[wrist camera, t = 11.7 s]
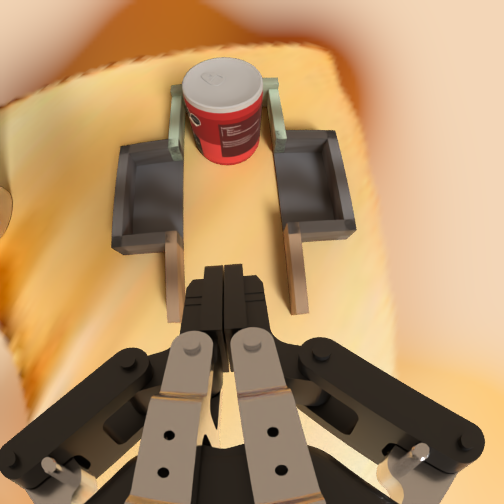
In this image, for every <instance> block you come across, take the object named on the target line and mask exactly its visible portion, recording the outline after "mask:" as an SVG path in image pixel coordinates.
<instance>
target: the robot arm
mask: <svg viewBox="0 0 504 504" xmlns="http://www.w3.org/2000/svg"><path fill="white" fill-rule="evenodd" d="M11 212H12V199H11V196H10V193H9V192H8V191H7V190H5V189H4V188H2V187H1V186H0V238H1V237H2V235H3V233H4V232H5V230H6V228H7V226H8V223H9V221H10V217H11ZM229 363H230V369H231V372H234V375H235V382H236V389H237V397H238V404H239V411H240V417H241V424H242V430H243V437H244V443H245V444H242V445H238V446H234V447H231V448H227V449H221V443H220V421H221V408H222V394H223V388H222V385H223V372H229ZM297 408H298V409H299V410H301V411H302V412H303V413H305V414H306V415H307V416H309V417H310V418H311V419H313V420H314V421H315V422H317V423H318V424H319V425H321V426H322V427H323V428H325V429H326V430H328V431H329V432H330V433H332V434H333V435H335V436H336V437H337V438H339V439H340V440H342V441H343V442H345V443H346V444H347V445H349V446H350V447H352V448H353V449H355V450H356V451H358V452H359V453H361V454H362V455H364V456H365V457H367V458H368V459H370V460H371V461H373V462H374V463H376V464H377V465H378V467H377V473H376V474H377V479H378V481H379V483H380V484H381V485H382V486H383V487H384V488H385V489H386V490H387V491H388V493H389V495H390V497H388V496H386V495H385V494H383V493H382V492H381V491H379V490H378V489H376V488H375V487H373V486H372V485H370V484H369V483H368V482H366V481H365V480H363V479H362V478H360V477H359V476H358V475H356V474H355V473H354V472H352V471H351V470H350V469H348V468H347V467H346V466H344V465H343V464H342V463H340V462H339V461H338V460H336V459H335V458H334V457H332V456H331V455H330V454H328V453H326V452H324V451H322V450H320V449H318V448H315V447H312V446H309V445H307V443H306V439H305V436H304V432H303V429H302V425H301V422H300V418H299V415H298V411H297ZM140 439H141V442H140V447H139V452H138V455H137V456H135V457H134V458H132V459H131V460H130V461H128V462H127V463H126V464H125V465H124V466H123V467H122V468H121V469H120V470H119V471H118V472H117V473H116V474H115V475H114V476H113V477H112V478H111V479H110V480H109V481H108V482H107V483H105V484H104V485H103V486H102V487H101V488H100V489H99V490H97V481H96V479H97V478H98V477H99V476H100V475H101V474H103V473H104V472H105V471H106V470H107V469H108V468H109V467H110V466H112V465H113V464H114V463H115V462H116V461H117V460H118V459H119V458H121V457H122V456H123V455H124V454H125V453H126V452H127V451H128V450H129V449H130V448H131V447H133V446H134V445H135V444H136V443H137V442H138V441H139V440H140ZM484 446H485V439H484V435H483V433H482V431H481V429H480V428H479V427H478V426H476V425H475V424H474V423H472V422H470V421H468V420H466V419H465V418H463V417H461V416H459V415H457V414H456V413H454V412H452V411H450V410H449V409H447V408H445V407H443V406H442V405H440V404H438V403H436V402H435V401H433V400H431V399H429V398H428V397H426V396H424V395H423V394H421V393H419V392H417V391H416V390H414V389H412V388H411V387H409V386H407V385H406V384H404V383H402V382H401V381H399V380H397V379H395V378H394V377H392V376H390V375H389V374H387V373H385V372H384V371H382V370H380V369H379V368H377V367H376V366H374V365H372V364H371V363H369V362H367V361H366V360H364V359H362V358H361V357H359V356H357V355H356V354H354V353H353V352H351V351H349V350H348V349H346V348H345V347H343V346H341V345H340V344H338V343H336V342H335V341H333V340H331V339H328V338H323V337H317V338H312V339H309V340H307V341H306V342H304V343H303V344H302V346H298V345H292V344H287V343H284V342H282V341H280V340H278V339H277V338H276V337H275V336H274V335H273V334H272V332H271V330H270V325H269V318H268V312H267V306H266V301H265V294H264V287H263V282H262V281H261V280H260V279H259V278H258V277H257V276H256V275H252V276H243V268H242V264H232V265H224V268H223V265H219V266H205V271H204V279H196V280H192V282H191V283H190V284H189V286H188V287H187V289H186V296H185V302H184V309H183V315H182V322H181V329H180V335H179V336H177V337H176V338H175V339H174V341H173V342H172V345H171V347H170V348H169V349H167V350H165V351H163V352H159V353H156V354H152V355H149V356H147V354H146V353H145V352H144V351H143V350H141V349H138V348H126V349H123V350H121V351H119V352H118V353H116V354H115V355H114V356H113V357H111V358H110V359H109V360H108V361H106V362H105V363H104V364H103V365H101V366H100V367H99V368H98V369H96V370H95V371H94V372H93V373H92V374H90V375H89V376H88V377H87V378H85V379H84V380H83V381H82V382H80V383H79V384H78V385H77V386H75V387H74V388H73V389H72V390H71V391H69V392H68V393H67V394H66V395H64V396H63V397H62V398H61V399H59V400H58V401H57V402H56V403H55V404H53V405H52V406H51V407H50V408H48V409H47V410H46V411H45V412H44V413H42V414H41V415H40V416H39V417H37V418H36V419H35V420H34V421H32V422H31V423H30V424H29V425H28V426H26V427H25V428H24V429H23V430H22V431H20V432H19V433H18V434H17V435H16V436H14V437H13V438H12V439H11V440H9V441H8V442H7V443H6V444H4V446H2V448H1V449H0V471H1V473H2V474H3V475H4V476H5V477H6V478H8V479H10V480H11V481H13V482H15V483H16V484H18V485H19V486H20V487H22V488H23V489H25V490H26V492H27V493H28V495H29V496H30V498H31V499H32V501H33V503H34V504H439V503H440V502H441V500H442V498H443V497H444V495H445V494H446V492H447V490H448V489H449V487H450V485H451V484H452V482H453V480H454V478H455V477H456V475H457V473H458V472H459V471H461V470H462V469H464V468H465V467H467V466H468V465H469V464H471V463H472V462H474V461H475V460H476V459H478V458H479V457H480V455H481V454H482V452H483V449H484Z"/></svg>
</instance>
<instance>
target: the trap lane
mask: <svg viewBox="0 0 504 504" xmlns="http://www.w3.org/2000/svg"><path fill="white" fill-rule="evenodd" d="M262 80H263V99H262V106H267V110H268V117H269V124H270V131H271V138H272V145H273V153H274V161H275V168H276V176H277V184H278V193H279V201H280V210H281V218H282V227H283V236H284V246H285V255H286V265H287V275H288V285H289V296H290V307H291V315H298V314H306V313H309V307H308V297H307V287H306V277H305V268H304V259H303V250H302V242H311V241H326V240H341V239H347V238H348V237H349V236H350V235H352V234H353V233H354V232H355V231H356V224H355V218H354V213H353V207H352V202H351V197H350V192H349V187H348V183H347V178H346V173H345V169H344V165H343V160H342V156H341V152H340V148H339V144H338V140H337V136H336V132H335V131H333V130H285V125H284V119H283V113H282V108H281V102H280V97H279V91H278V86H279V83H278V78H262ZM171 95H172V102H171V113H170V125H169V138H168V139H165V140H157V141H150V142H144V143H138V144H132V145H126V146H121V147H120V154H119V162H118V169H117V178H116V187H115V197H114V209H113V223H112V242H111V248H113V249H114V250H116V251H118V252H119V253H121V254H123V255H131V254H144V253H158V252H165V270H166V300H167V320H168V323H181V322H182V315H183V309H184V302H185V276H184V242H183V168H184V135H185V113H186V112H187V108H186V104H185V100H184V95H183V89H182V84H180V85H172V86H171Z"/></svg>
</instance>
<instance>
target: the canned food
mask: <svg viewBox="0 0 504 504" xmlns="http://www.w3.org/2000/svg"><path fill="white" fill-rule="evenodd" d="M182 89H183V95H184V100H185V104H186V108H187V112H188V116H189V119H190V123H191V127H192V131H193V134H194V138H195V142H196V145H197V148H198V149H199V151H200V152H201V153H202V154H203V155H204V156H205V157H206V158H207V159H208V160H210V161H211V162H214V163H216V164H220V165H235V164H238V163H241V162H243V161H245V160H247V159H248V158H250V157H251V155H252V154H253V153H254V152H255V150H256V149H257V147H258V144H259V137H260V124H261V111H262V99H263V80H262V76H261V74H260V72H259V71H258V70H257V69H256V68H255V67H254V66H253V65H251V64H250V63H248V62H245V61H243V60H240V59H236V58H226V57H221V58H213V59H209V60H206V61H203V62H201V63H199V64H197V65H195V66H194V67H192V68H191V69H190V70H189V71H188V72H187V73H186V75H185V77H184V79H183V82H182Z"/></svg>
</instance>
